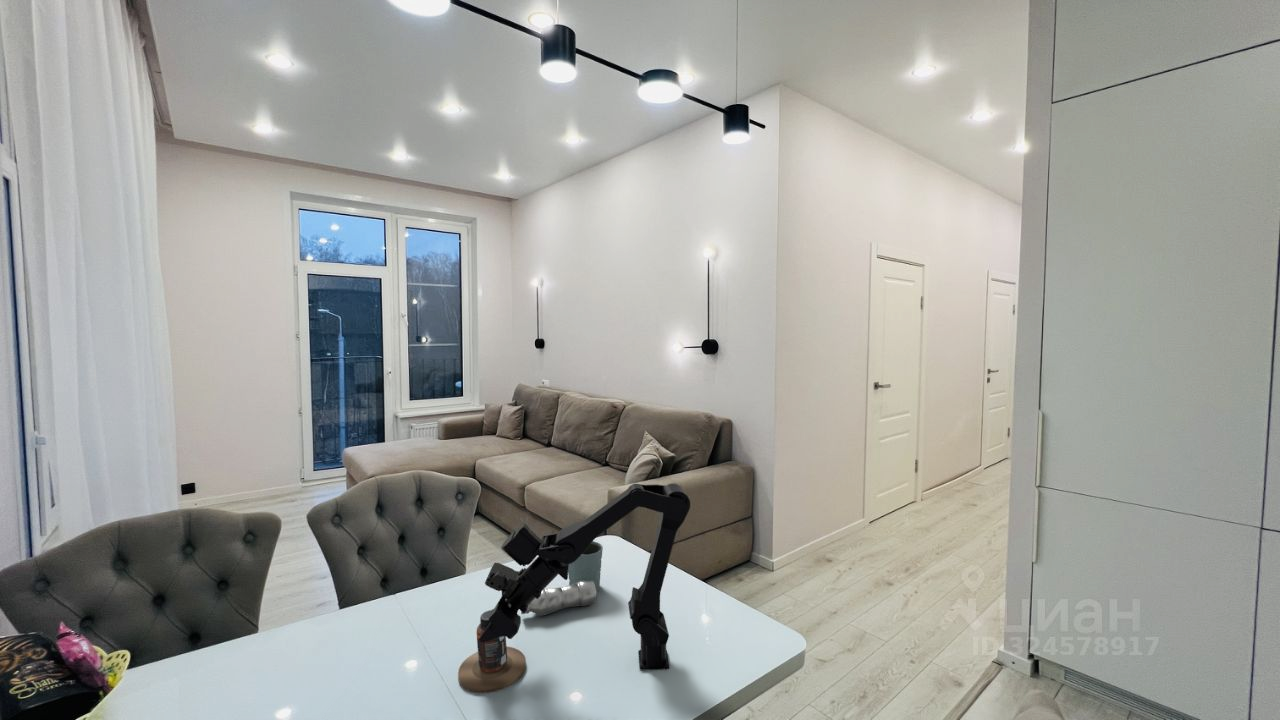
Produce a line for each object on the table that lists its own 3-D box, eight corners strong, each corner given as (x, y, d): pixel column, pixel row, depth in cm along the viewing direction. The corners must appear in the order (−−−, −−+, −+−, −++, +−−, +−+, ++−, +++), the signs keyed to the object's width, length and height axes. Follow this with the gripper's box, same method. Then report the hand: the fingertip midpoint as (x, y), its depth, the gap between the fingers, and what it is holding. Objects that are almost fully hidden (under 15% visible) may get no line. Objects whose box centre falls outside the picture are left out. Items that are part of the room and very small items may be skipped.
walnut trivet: (519, 691, 104) (519, 686, 104) (449, 694, 104) (449, 689, 104) (530, 649, 118) (530, 644, 118) (469, 651, 118) (468, 647, 118)
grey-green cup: (565, 582, 150) (564, 542, 150) (598, 577, 153) (598, 538, 153) (570, 599, 141) (570, 556, 140) (606, 593, 144) (606, 551, 143)
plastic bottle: (589, 582, 144) (517, 597, 136) (595, 574, 139) (520, 589, 131) (595, 606, 140) (521, 623, 132) (600, 598, 135) (524, 616, 127)
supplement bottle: (512, 665, 111) (509, 614, 110) (486, 678, 107) (482, 626, 106) (500, 652, 115) (496, 603, 114) (474, 665, 111) (470, 614, 111)
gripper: (516, 536, 119) (469, 584, 119) (498, 573, 101) (443, 630, 101) (551, 568, 120) (504, 615, 120) (539, 610, 101) (484, 667, 101)
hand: (485, 629), depth 111 cm, fingers open, 8 cm apart
